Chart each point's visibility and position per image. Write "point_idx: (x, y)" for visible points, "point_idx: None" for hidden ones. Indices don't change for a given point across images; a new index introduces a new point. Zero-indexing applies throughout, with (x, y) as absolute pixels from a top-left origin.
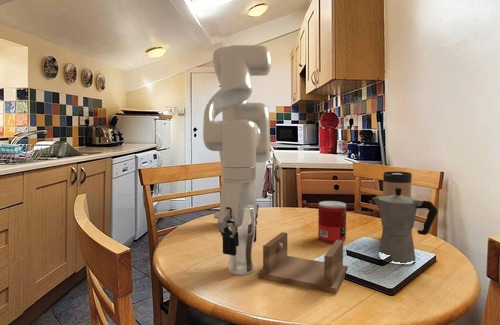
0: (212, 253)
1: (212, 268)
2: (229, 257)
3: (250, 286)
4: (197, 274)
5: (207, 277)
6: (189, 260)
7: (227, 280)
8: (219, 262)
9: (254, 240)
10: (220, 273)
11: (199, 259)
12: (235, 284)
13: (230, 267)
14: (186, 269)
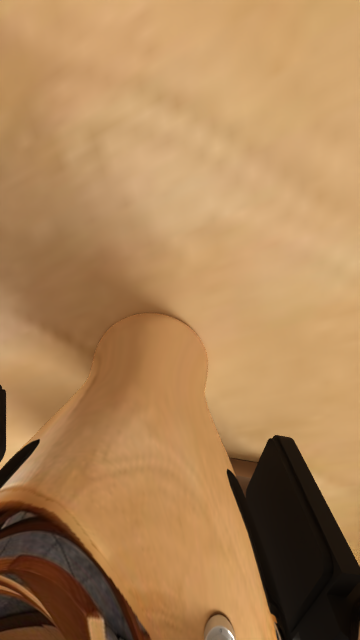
0: (349, 142)
1: (129, 233)
2: (109, 355)
3: (29, 426)
4: (35, 181)
5: (27, 249)
6: (209, 12)
7: (37, 343)
8: (213, 242)
9: (247, 502)
10: (89, 293)
11: (237, 89)
12: (20, 379)
13: (100, 345)
14: (68, 72)
